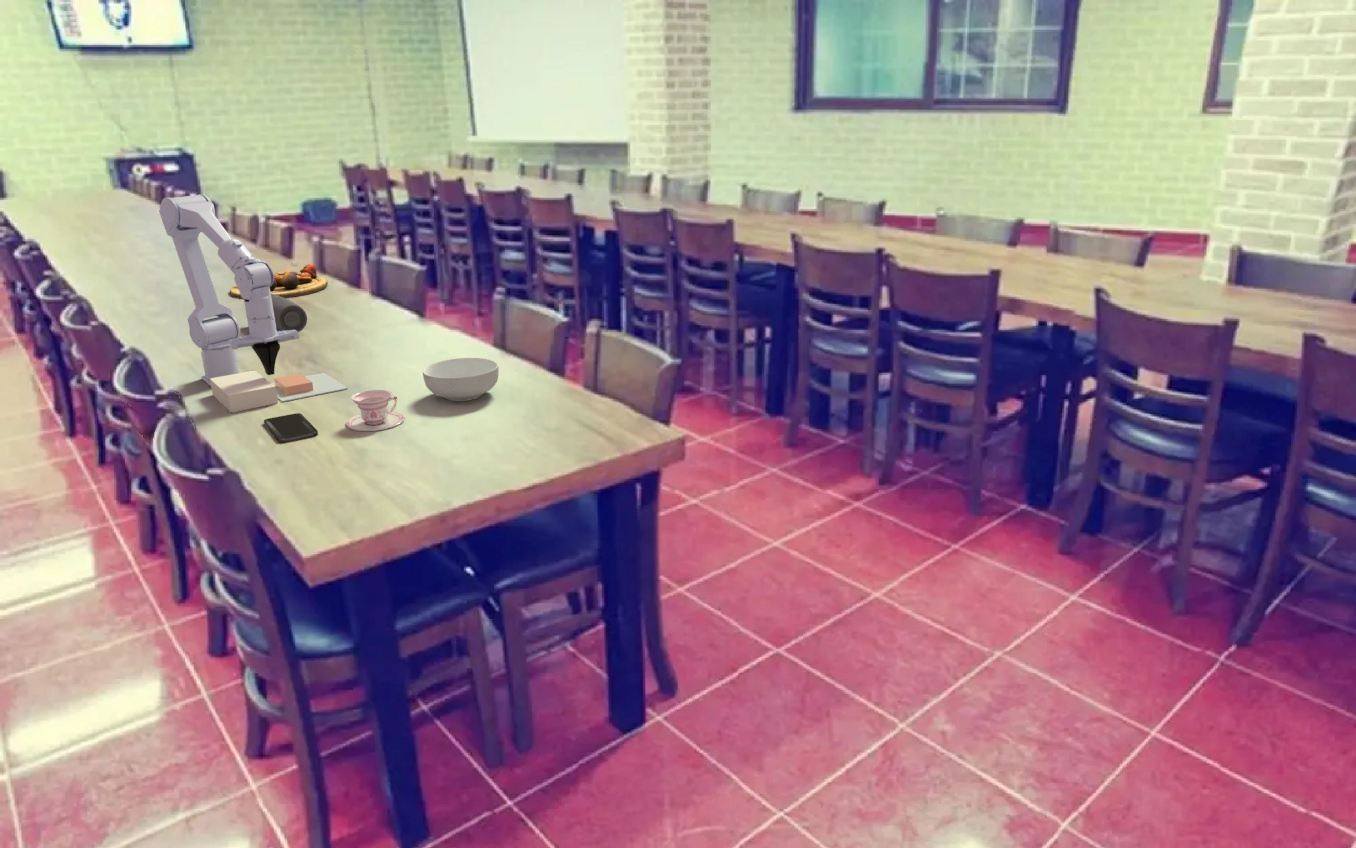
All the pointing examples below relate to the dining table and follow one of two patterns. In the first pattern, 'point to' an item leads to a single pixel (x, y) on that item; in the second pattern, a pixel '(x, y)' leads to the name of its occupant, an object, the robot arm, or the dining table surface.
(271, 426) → the phone
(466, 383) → the cereal bowl
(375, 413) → the teacup
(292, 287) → the wooden plate with food
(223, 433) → the dining table surface
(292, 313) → the bluetooth speaker
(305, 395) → the mat
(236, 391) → the cream rectangular block
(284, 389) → the terracotta tile
